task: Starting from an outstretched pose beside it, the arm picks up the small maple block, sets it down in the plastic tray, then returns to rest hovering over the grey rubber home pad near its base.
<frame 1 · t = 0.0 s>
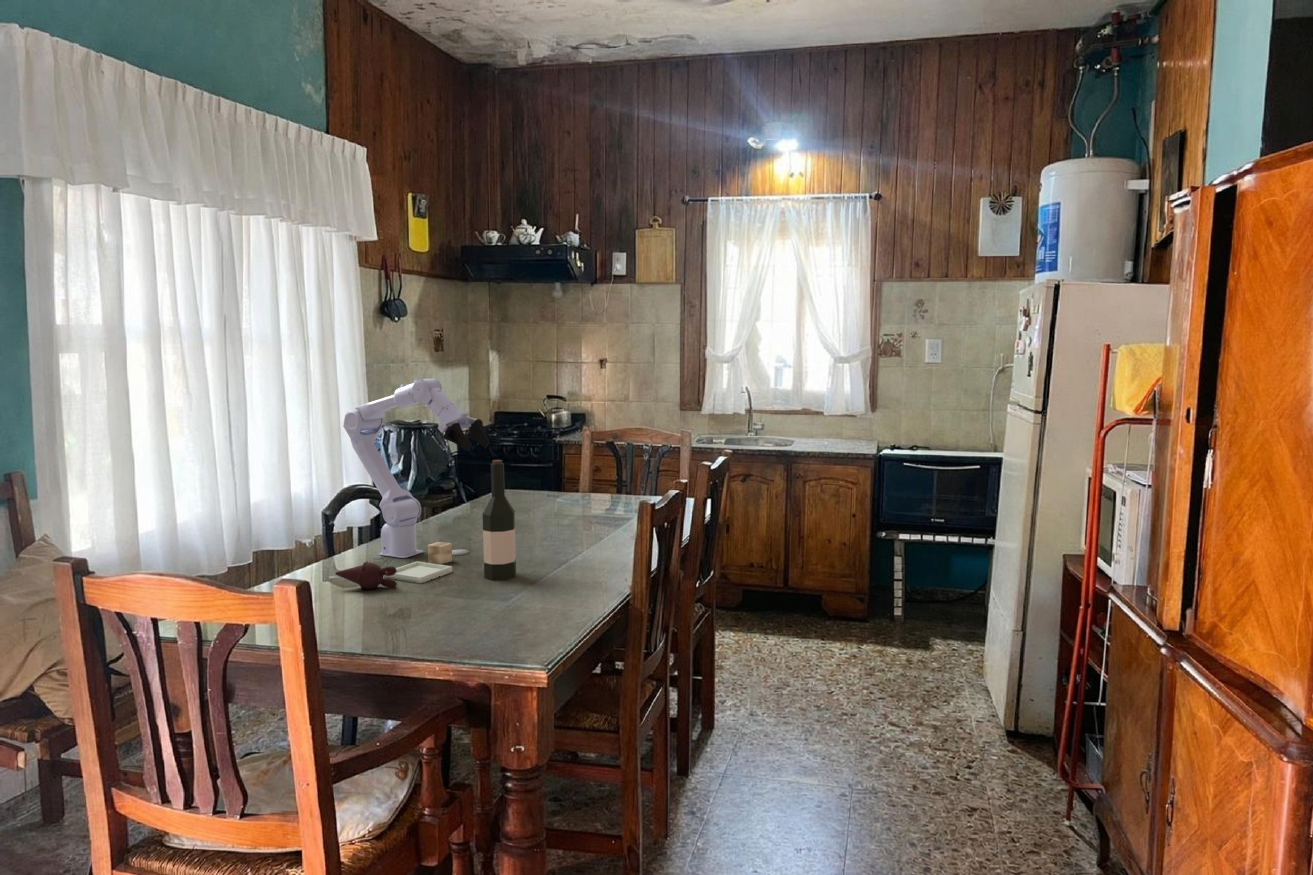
hand: (478, 446, 229), 32 cm above the table, tool tilted 50°, fingers open, 7 cm apart
tray: (418, 574, 223), on the table
block: (440, 562, 236), on the table
home pad: (458, 552, 246), on the table
wine bottle: (500, 577, 221), on the table
icecream: (367, 589, 211), on the table
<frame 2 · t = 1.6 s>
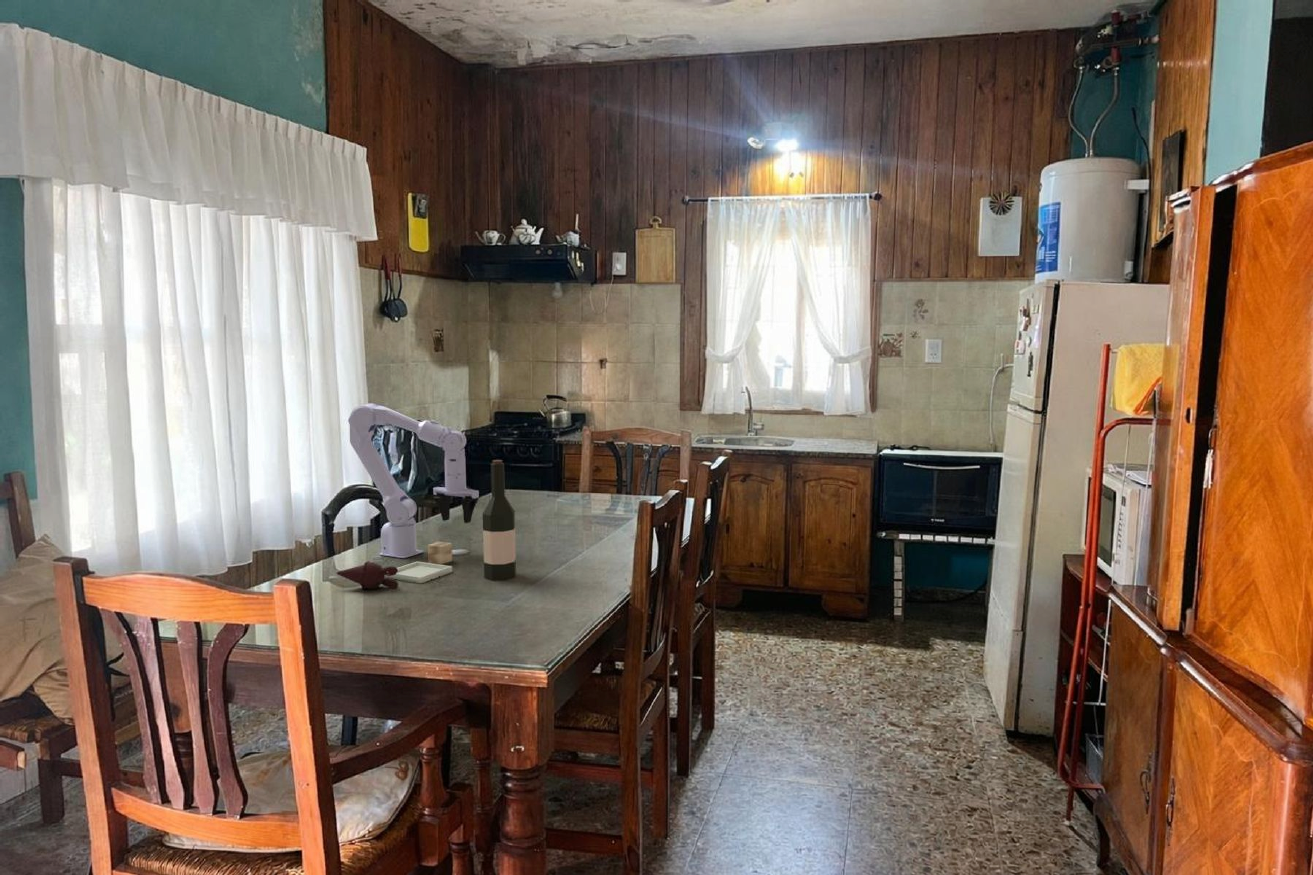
hand: (456, 521, 244), 9 cm above the table, tool pointing down, fingers open, 7 cm apart
nothing on the table moved.
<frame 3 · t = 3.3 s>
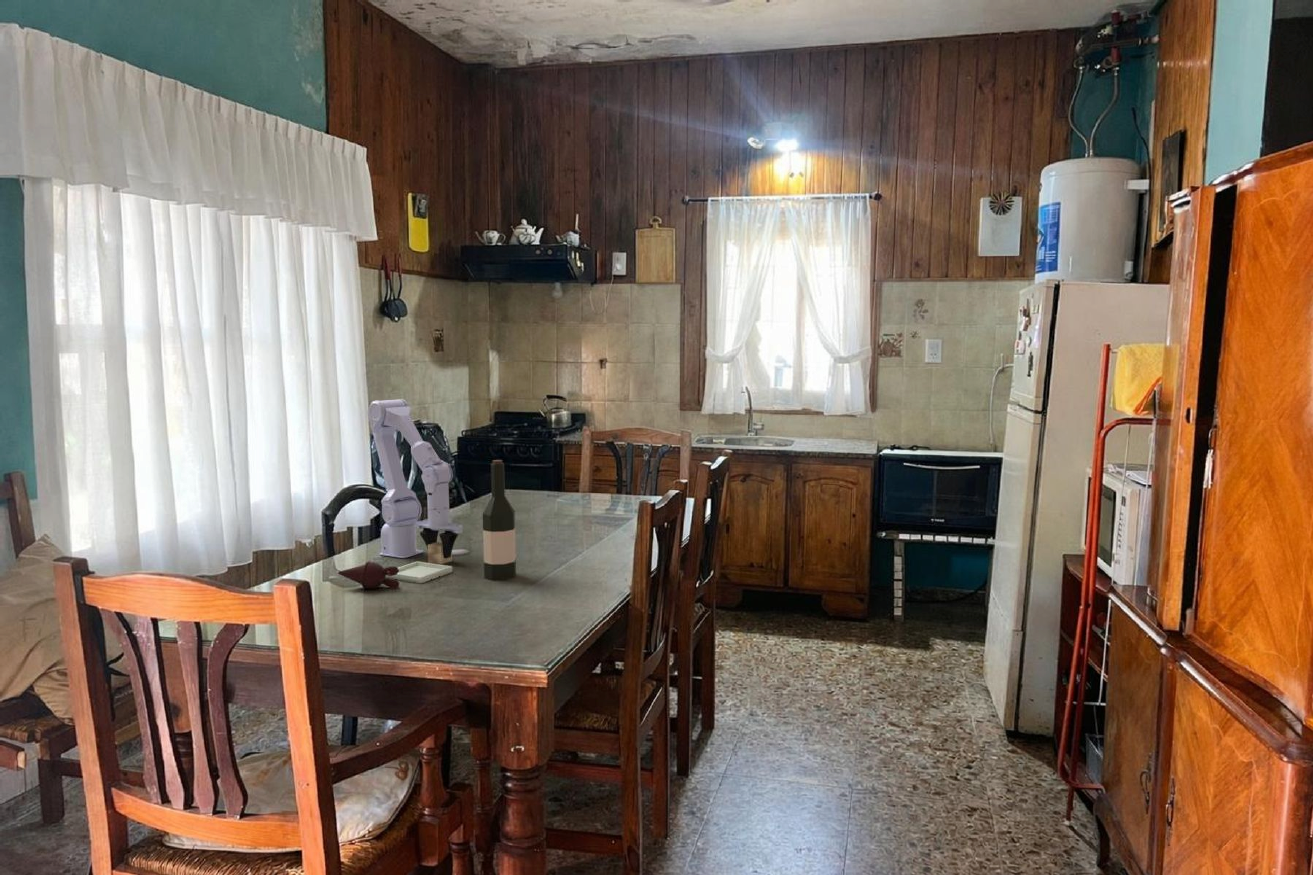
hand: (440, 556, 236), 1 cm above the table, tool pointing down, fingers closed on block, 4 cm apart
block: (440, 561, 236), on the table, touching gripper
everything else where it was.
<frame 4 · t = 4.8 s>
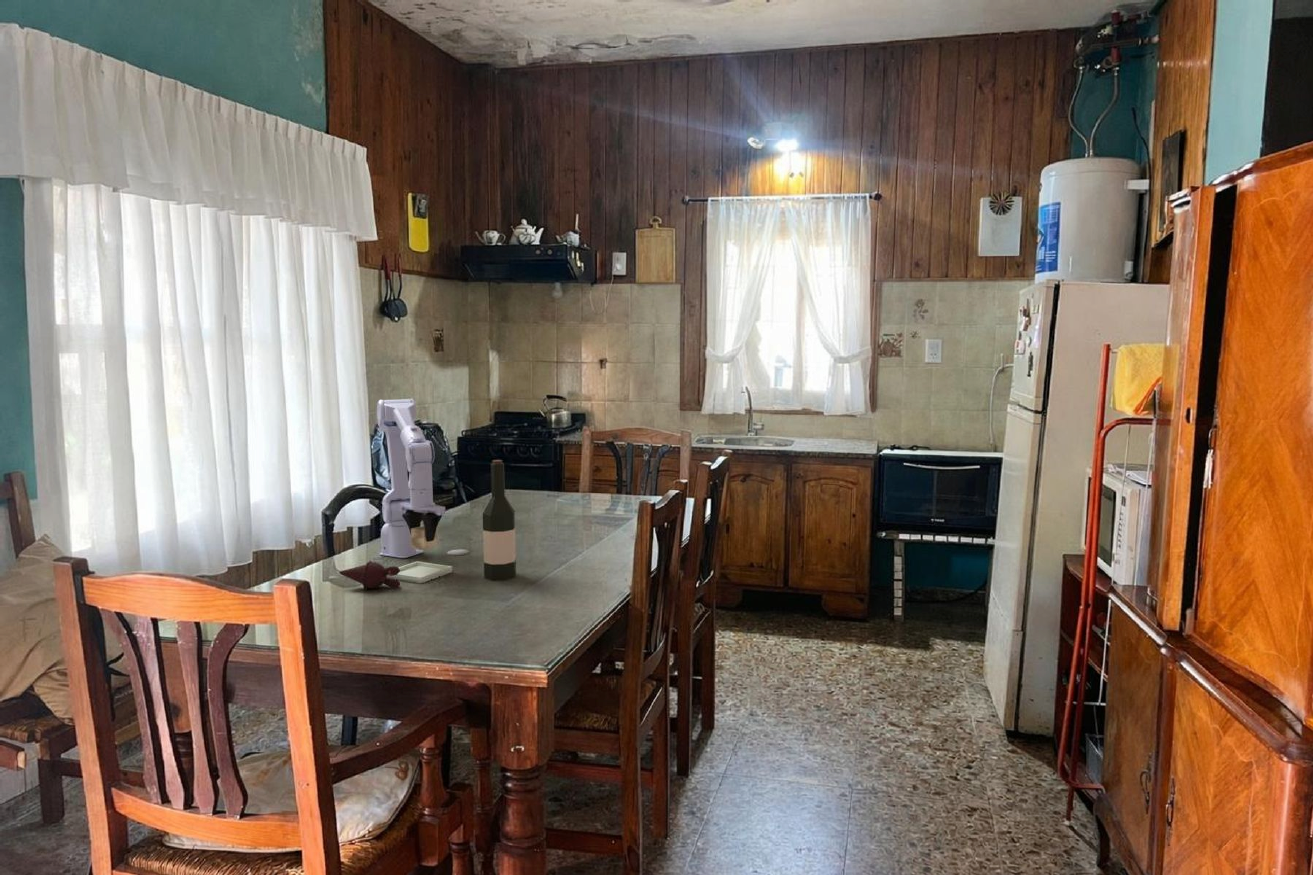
hand: (423, 539, 225), 9 cm above the table, tool pointing down, fingers closed on block, 4 cm apart
block: (424, 546, 225), point 7 cm above the table, touching gripper
everything else where it was.
when the fingers open (4 cm above the table, at t = 6.4 s): block drops 1 cm, resting on tray.
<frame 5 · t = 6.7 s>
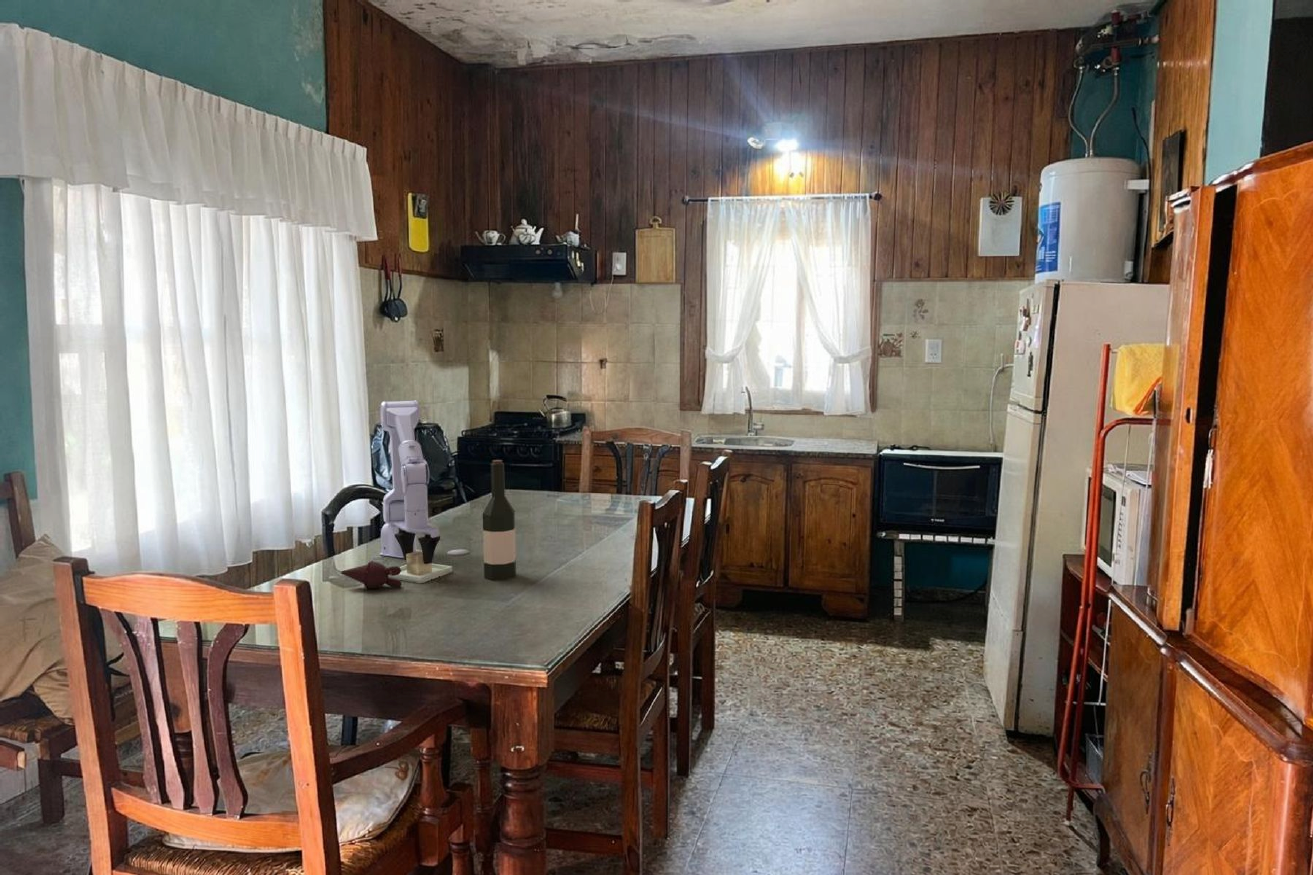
hand: (418, 561, 222), 4 cm above the table, tool pointing down, fingers open, 7 cm apart
block: (419, 572, 223), point 1 cm above the table, touching tray
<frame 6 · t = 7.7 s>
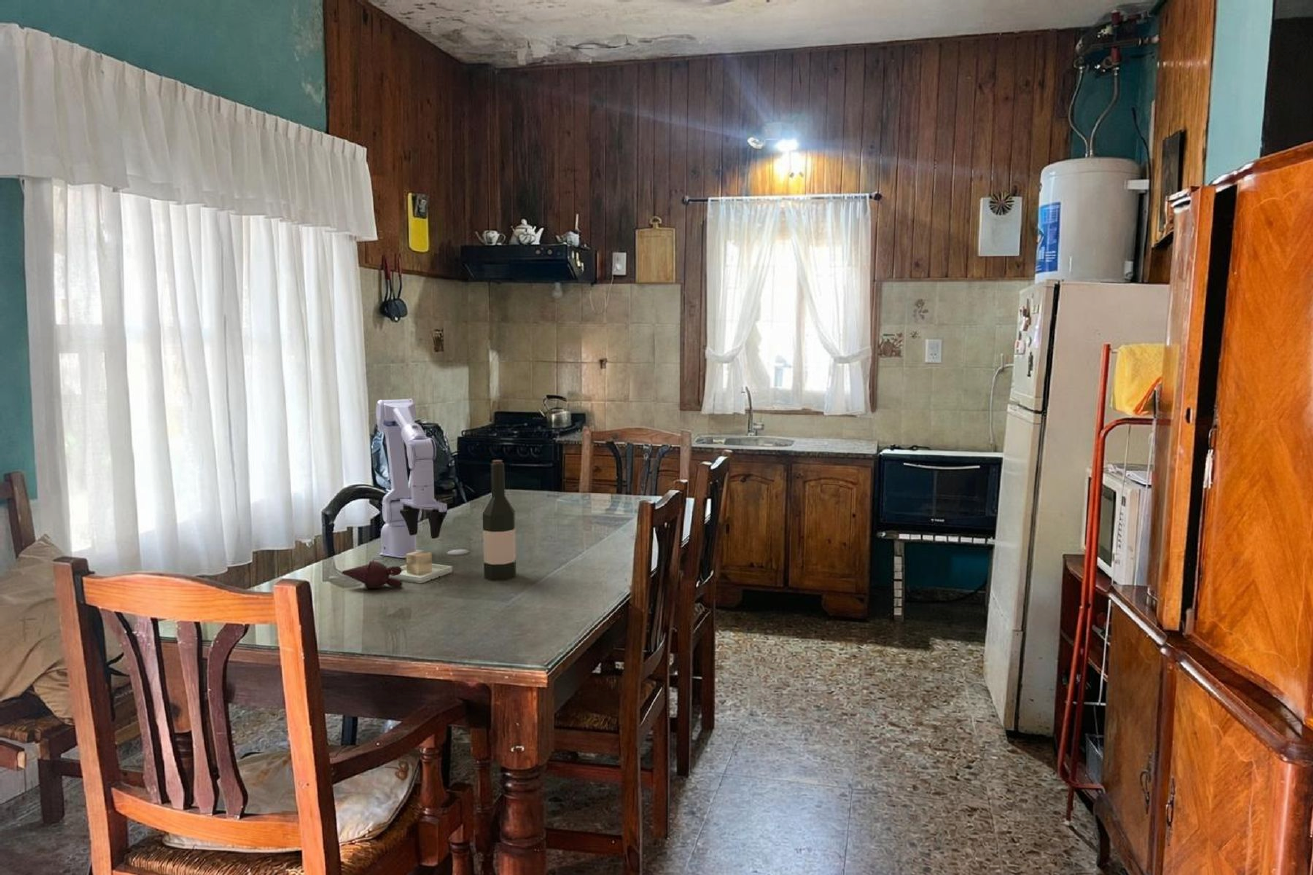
hand: (424, 536, 225), 9 cm above the table, tool pointing down, fingers open, 7 cm apart
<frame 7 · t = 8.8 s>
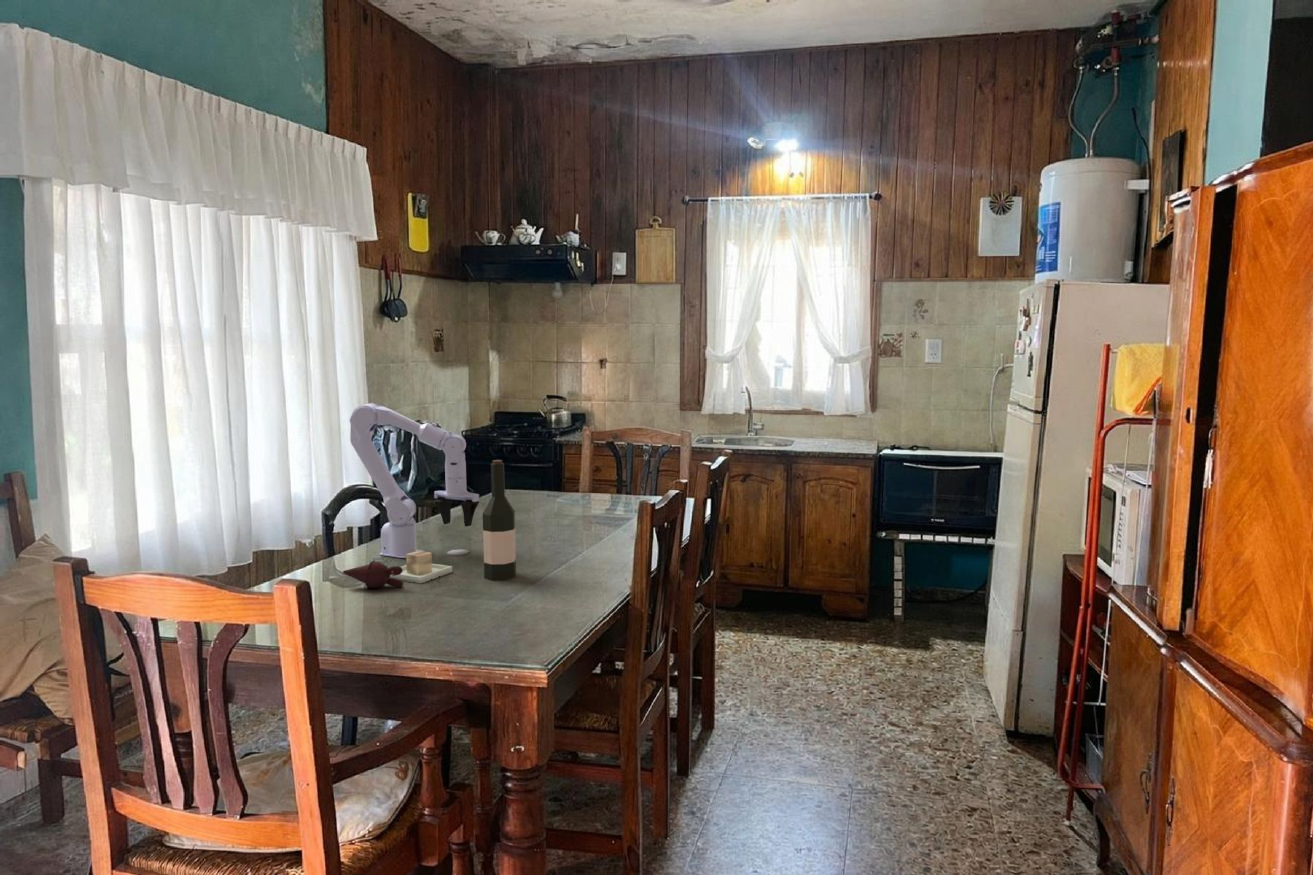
hand: (457, 524, 245), 8 cm above the table, tool pointing down, fingers open, 7 cm apart
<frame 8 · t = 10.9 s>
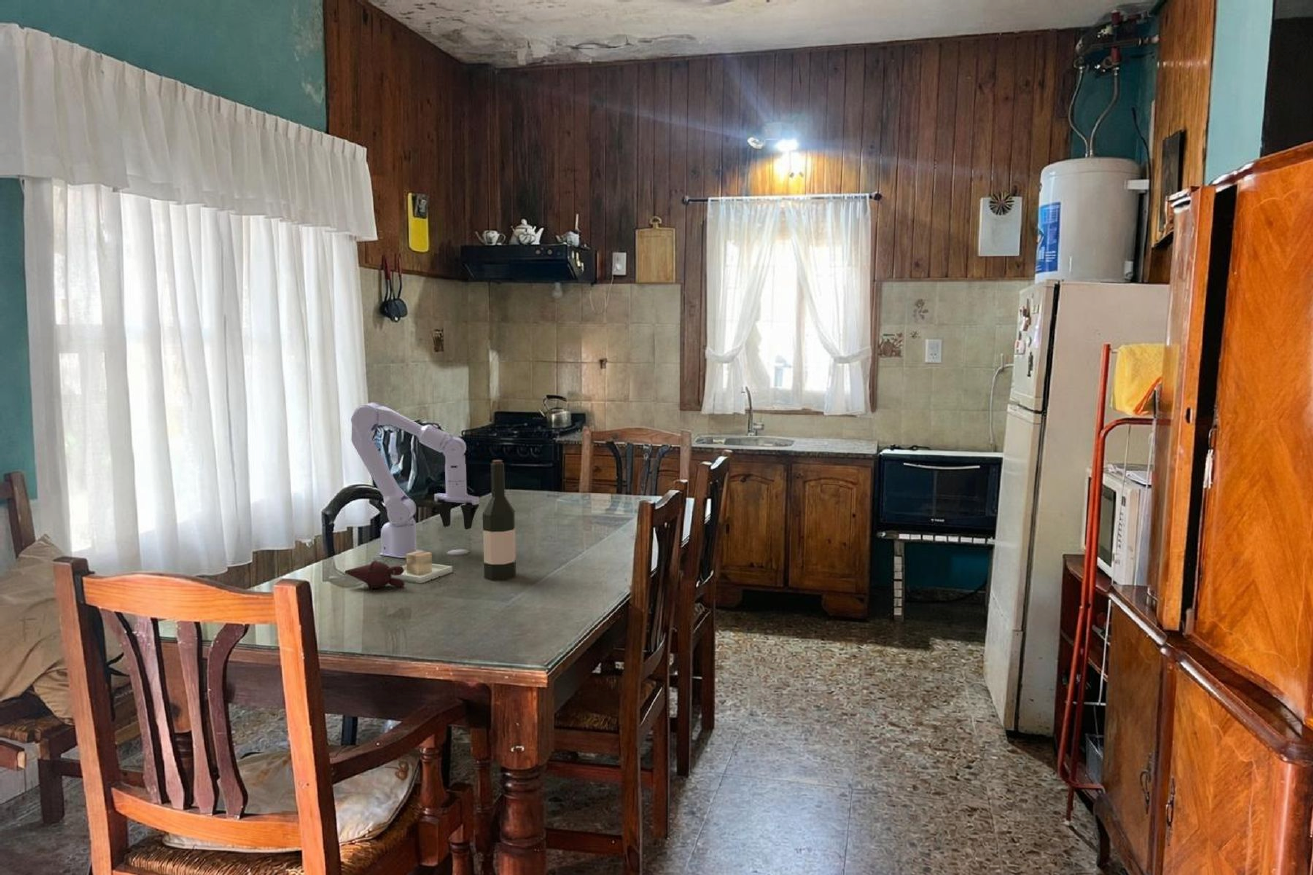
hand: (457, 527, 245), 7 cm above the table, tool pointing down, fingers open, 7 cm apart
at the end: block inside the target area on the tray (0.4 cm from its centre), point 0.6 cm above the tray's base; block tilted 0°; the gripper is holding nothing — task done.
